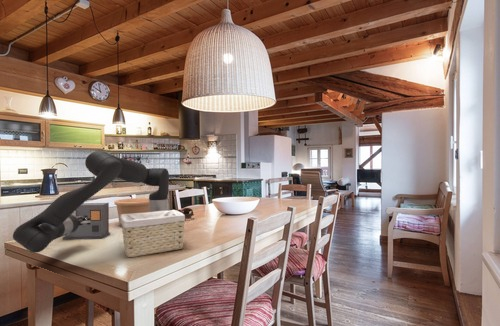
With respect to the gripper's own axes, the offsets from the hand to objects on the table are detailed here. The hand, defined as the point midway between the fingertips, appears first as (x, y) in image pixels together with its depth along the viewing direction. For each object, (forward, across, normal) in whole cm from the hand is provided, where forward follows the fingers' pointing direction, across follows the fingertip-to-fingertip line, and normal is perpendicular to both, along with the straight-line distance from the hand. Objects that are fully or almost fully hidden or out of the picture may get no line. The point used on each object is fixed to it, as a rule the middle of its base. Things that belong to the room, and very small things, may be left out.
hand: (85, 217), depth 127 cm
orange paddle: (+11, 0, +3) cm, 12 cm away
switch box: (+12, +6, +12) cm, 18 cm away
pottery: (+40, -8, +12) cm, 42 cm away
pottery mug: (+55, -35, +12) cm, 66 cm away
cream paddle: (+7, +11, +3) cm, 13 cm away
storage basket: (-10, -32, +12) cm, 36 cm away
